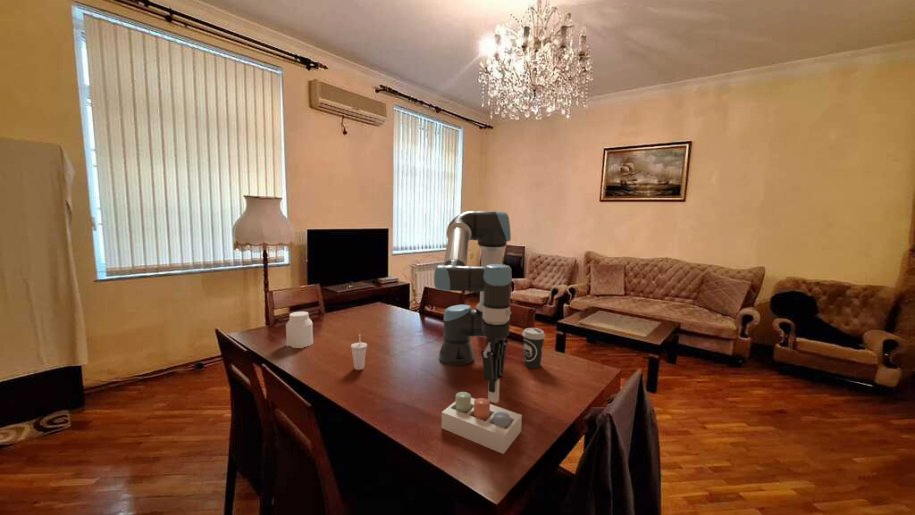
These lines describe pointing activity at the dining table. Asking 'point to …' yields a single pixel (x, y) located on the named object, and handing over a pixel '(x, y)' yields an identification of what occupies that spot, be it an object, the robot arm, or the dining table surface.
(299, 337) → the jar
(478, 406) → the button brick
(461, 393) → the button sage
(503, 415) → the button slate
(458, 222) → the robot arm
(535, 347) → the coffee cup
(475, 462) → the dining table surface
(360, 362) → the smoothie
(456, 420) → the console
